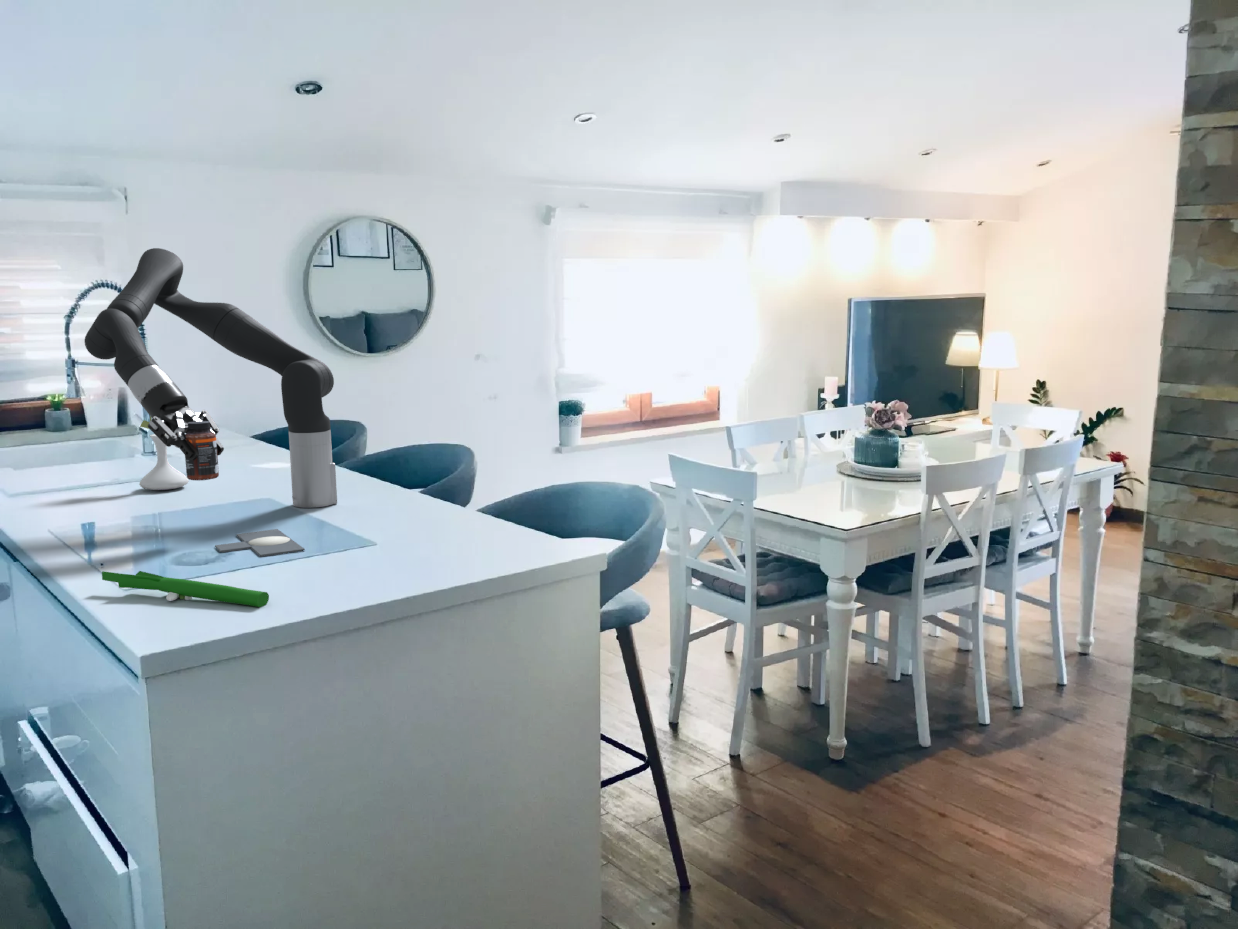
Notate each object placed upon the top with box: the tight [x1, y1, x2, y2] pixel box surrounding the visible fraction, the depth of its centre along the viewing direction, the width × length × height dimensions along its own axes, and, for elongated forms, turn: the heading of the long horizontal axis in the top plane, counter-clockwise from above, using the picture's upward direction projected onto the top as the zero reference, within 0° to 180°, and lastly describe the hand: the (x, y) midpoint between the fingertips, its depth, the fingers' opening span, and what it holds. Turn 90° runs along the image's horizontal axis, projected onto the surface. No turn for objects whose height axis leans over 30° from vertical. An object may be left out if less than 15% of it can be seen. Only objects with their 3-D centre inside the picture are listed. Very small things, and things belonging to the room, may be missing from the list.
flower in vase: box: [138, 415, 190, 491], centre depth 247 cm, size 13×11×25 cm
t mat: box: [214, 528, 306, 558], centre depth 190 cm, size 14×20×1 cm
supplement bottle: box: [184, 421, 220, 481], centre depth 195 cm, size 6×6×11 cm
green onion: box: [101, 570, 270, 608], centre depth 155 cm, size 5×3×30 cm
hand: (208, 455), depth 194 cm, fingers closed on supplement bottle, 6 cm apart
